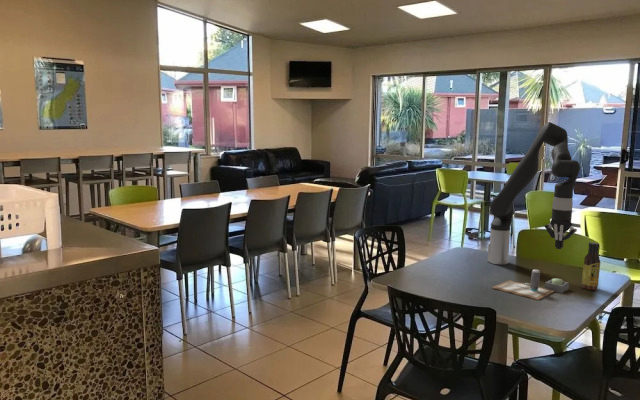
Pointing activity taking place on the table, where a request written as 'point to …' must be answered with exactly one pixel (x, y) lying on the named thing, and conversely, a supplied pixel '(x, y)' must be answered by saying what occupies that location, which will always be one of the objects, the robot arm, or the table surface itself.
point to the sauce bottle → (591, 267)
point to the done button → (557, 281)
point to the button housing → (557, 286)
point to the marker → (535, 280)
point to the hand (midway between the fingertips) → (558, 248)
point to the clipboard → (523, 290)
